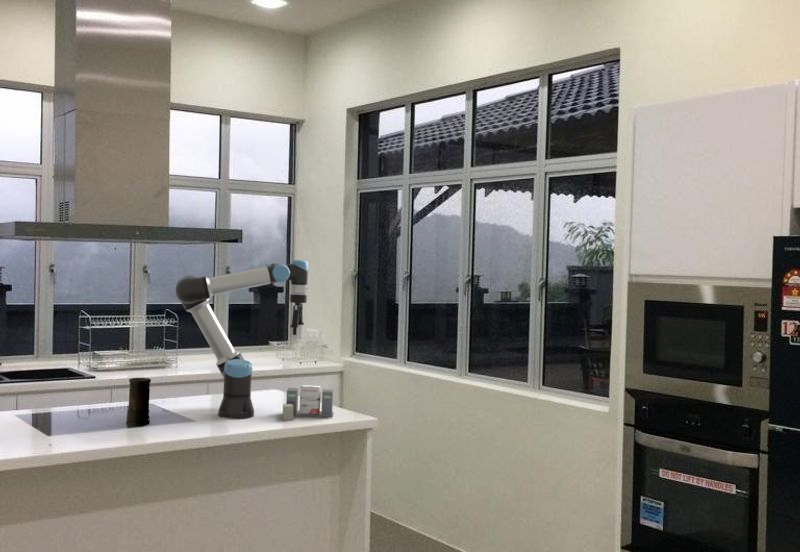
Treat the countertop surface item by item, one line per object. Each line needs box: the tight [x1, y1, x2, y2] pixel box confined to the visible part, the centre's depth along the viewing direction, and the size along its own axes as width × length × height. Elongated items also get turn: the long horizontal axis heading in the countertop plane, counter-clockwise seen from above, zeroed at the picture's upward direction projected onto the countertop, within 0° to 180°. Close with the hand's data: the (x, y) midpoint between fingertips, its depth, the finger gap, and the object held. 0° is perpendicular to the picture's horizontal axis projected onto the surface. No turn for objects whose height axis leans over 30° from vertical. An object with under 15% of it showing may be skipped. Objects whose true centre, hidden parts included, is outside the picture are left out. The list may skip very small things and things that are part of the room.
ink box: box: [299, 384, 322, 414], centre depth 351 cm, size 9×5×12 cm, turn 88°
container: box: [125, 377, 152, 427], centre depth 317 cm, size 9×9×18 cm
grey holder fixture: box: [285, 387, 335, 418], centre depth 351 cm, size 21×8×11 cm, turn 92°
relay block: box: [282, 403, 294, 421], centre depth 340 cm, size 4×6×6 cm, turn 12°
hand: (296, 340), depth 362 cm, fingers open, 13 cm apart
